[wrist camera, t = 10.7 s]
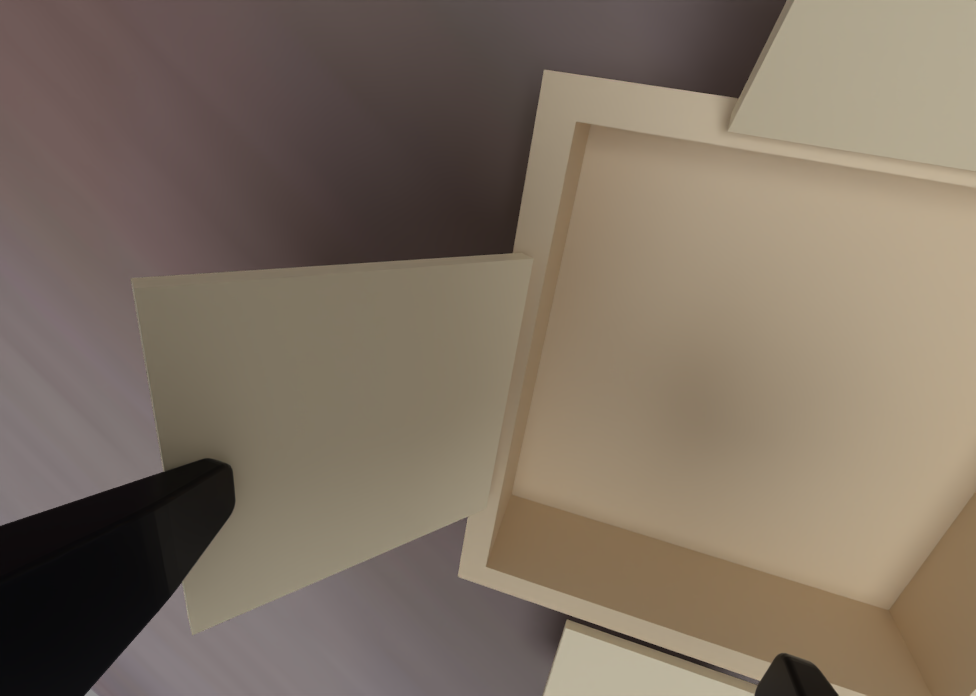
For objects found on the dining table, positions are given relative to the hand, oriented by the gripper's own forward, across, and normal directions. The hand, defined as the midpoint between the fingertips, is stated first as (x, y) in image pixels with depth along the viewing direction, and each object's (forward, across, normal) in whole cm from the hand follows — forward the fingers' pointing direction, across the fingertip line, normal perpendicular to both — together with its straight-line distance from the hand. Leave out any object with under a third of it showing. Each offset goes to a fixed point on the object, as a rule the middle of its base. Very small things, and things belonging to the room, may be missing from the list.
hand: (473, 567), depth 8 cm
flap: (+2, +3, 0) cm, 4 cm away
